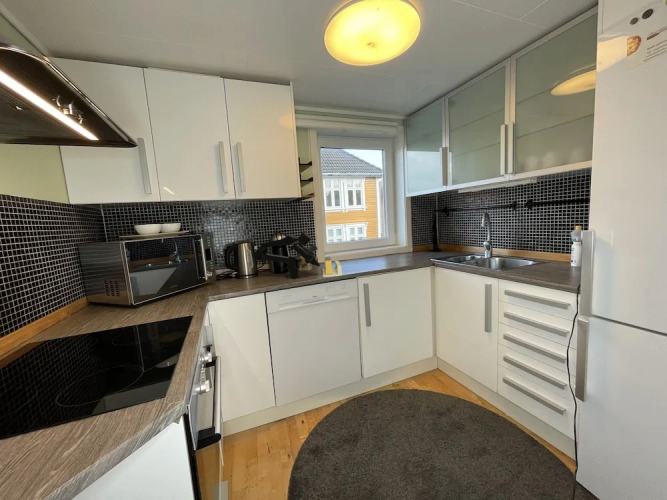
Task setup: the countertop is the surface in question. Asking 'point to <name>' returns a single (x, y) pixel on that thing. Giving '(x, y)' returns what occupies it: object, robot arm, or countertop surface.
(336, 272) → the key console
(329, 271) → the ochre key
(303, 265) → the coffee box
